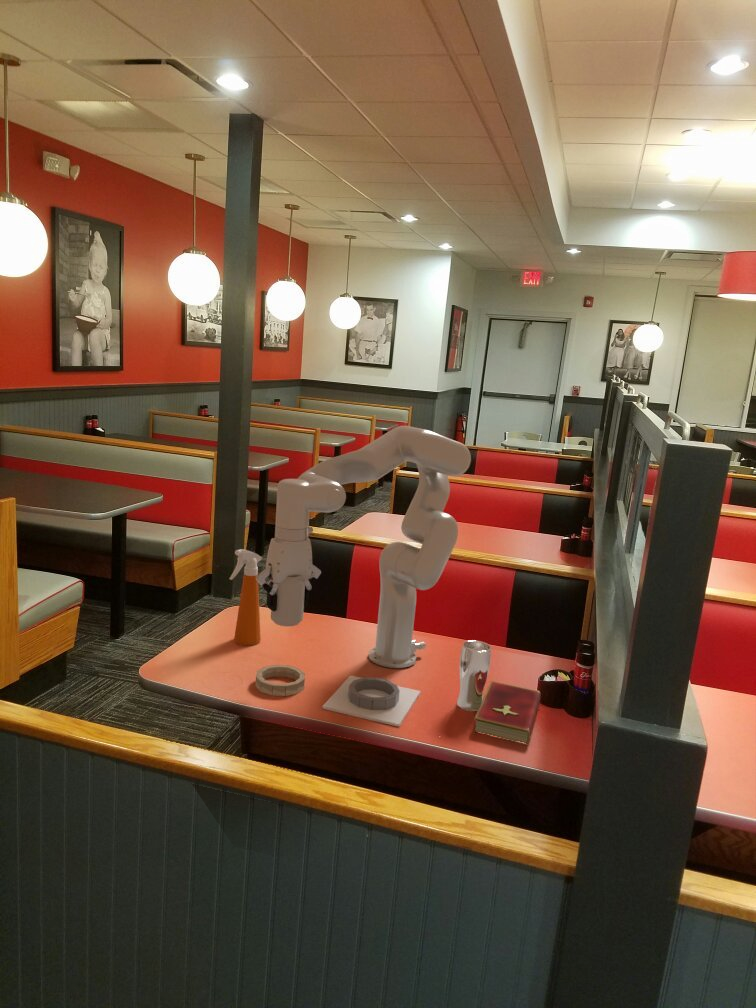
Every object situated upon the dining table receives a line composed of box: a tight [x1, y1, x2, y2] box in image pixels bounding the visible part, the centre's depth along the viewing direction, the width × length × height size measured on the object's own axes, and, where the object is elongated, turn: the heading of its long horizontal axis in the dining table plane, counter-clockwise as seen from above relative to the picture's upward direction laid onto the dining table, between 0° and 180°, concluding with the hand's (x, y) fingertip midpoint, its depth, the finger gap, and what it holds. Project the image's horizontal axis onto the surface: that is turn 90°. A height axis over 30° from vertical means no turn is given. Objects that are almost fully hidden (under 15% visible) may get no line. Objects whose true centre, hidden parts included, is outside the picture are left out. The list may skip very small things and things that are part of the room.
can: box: [270, 575, 305, 627], centre depth 168 cm, size 8×8×12 cm
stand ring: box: [255, 664, 306, 697], centre depth 172 cm, size 11×11×2 cm
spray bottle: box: [229, 548, 263, 646], centre depth 193 cm, size 7×11×26 cm, turn 143°
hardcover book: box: [474, 680, 541, 745], centre depth 165 cm, size 12×21×4 cm, turn 161°
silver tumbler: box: [456, 639, 492, 712], centre depth 169 cm, size 7×7×15 cm
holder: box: [322, 675, 422, 728], centre depth 168 cm, size 18×18×3 cm
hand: (287, 606), depth 169 cm, fingers closed on can, 7 cm apart
